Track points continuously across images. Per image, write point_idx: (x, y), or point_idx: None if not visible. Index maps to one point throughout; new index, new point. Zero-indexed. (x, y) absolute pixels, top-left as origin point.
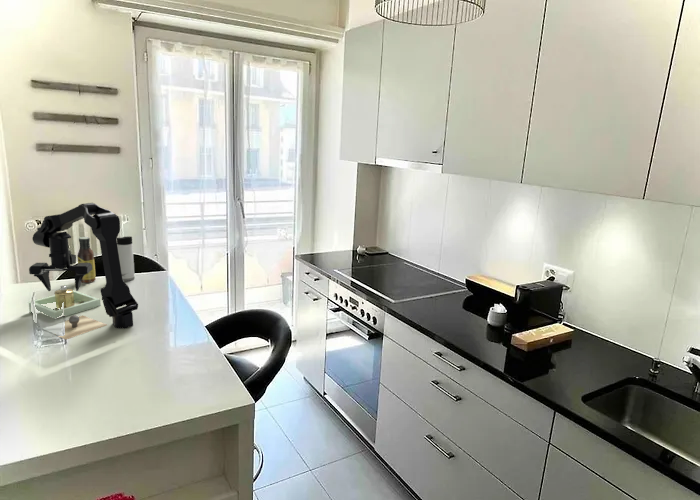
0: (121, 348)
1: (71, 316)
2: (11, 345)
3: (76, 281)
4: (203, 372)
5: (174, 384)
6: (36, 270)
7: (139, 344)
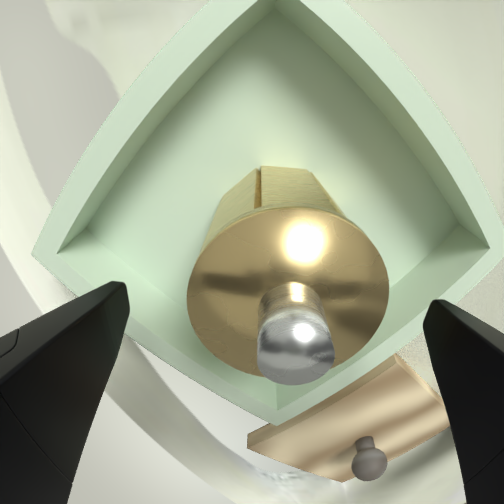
0: (445, 464)
1: (364, 479)
2: (199, 468)
3: (471, 456)
4: None
5: (462, 493)
6: None
7: None
